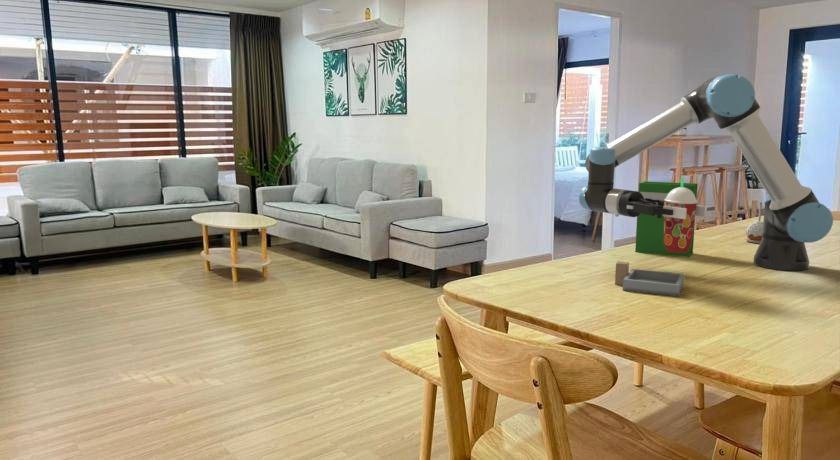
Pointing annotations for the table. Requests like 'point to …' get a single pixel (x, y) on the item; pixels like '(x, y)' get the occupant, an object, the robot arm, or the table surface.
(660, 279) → the tray
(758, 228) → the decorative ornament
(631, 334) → the table surface
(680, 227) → the smoothie
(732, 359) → the table surface
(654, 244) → the hardback book
